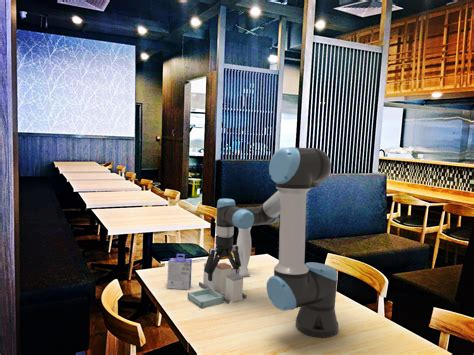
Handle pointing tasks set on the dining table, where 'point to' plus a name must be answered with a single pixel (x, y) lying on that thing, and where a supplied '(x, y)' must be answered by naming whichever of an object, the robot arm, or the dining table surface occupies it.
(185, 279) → the ink cartridge box
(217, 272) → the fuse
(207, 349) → the dining table surface
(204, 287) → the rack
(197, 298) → the tray
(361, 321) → the dining table surface
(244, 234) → the skyscraper
